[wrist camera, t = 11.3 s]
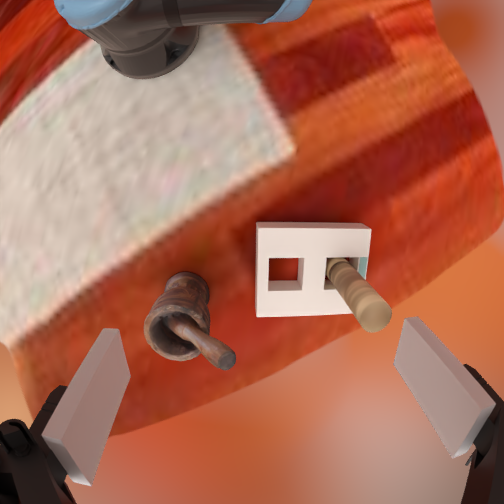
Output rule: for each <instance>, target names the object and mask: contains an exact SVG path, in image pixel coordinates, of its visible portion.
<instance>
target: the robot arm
mask: <svg viewBox="0 0 504 504" xmlns="http://www.w3.org/2000/svg"><path fill="white" fill-rule="evenodd" d="M54 3H55V7H56V9H57V11H58V12H59V14H60V15H61V16H62V17H64V18H65V19H66V20H67V22H68V23H69V24H70V25H71V26H72V27H73V28H75V29H78V30H79V31H81V32H82V33H84V34H85V35H87V36H88V37H90V38H91V39H93V40H94V41H96V42H97V43H99V44H100V45H101V50H102V53H103V56H104V58H105V60H106V61H107V63H108V64H109V65H110V66H111V67H112V68H113V69H115V70H116V71H118V72H119V73H121V74H122V75H124V76H127V77H130V78H135V79H149V78H155V77H158V76H161V75H164V74H166V73H168V72H170V71H172V70H174V69H175V68H177V67H178V66H179V65H180V64H182V63H183V62H184V61H185V60H186V59H187V58H188V56H189V55H190V54H191V52H192V51H193V49H194V47H195V45H196V42H197V39H198V35H199V25H208V24H226V23H257V24H266V23H269V22H290V21H294V20H296V19H298V18H300V17H301V16H302V15H303V14H304V13H305V12H306V11H307V9H308V8H309V6H310V4H311V3H312V0H54ZM393 365H394V366H395V368H396V369H397V371H398V372H399V374H400V375H401V377H402V378H403V380H404V381H405V383H406V385H407V386H408V387H409V389H410V391H411V392H412V394H413V395H414V397H415V399H416V400H417V402H418V403H419V405H420V406H421V408H422V410H423V411H424V413H425V414H426V416H427V418H428V419H429V421H430V422H431V424H432V426H433V427H434V429H435V430H436V432H437V434H438V435H439V437H440V439H441V440H442V442H443V444H444V446H445V447H446V449H447V450H448V452H449V454H450V456H451V457H452V458H455V457H457V456H459V455H462V454H464V453H466V452H467V451H468V450H469V448H470V447H471V445H472V443H474V445H475V446H476V449H475V451H474V452H473V454H472V455H471V456H470V458H469V459H468V461H467V463H466V464H465V465H466V466H467V465H468V464H469V463H470V461H471V466H470V470H469V475H468V479H467V483H466V487H465V491H464V495H463V498H462V501H461V504H504V401H503V400H502V399H501V398H500V397H499V396H498V395H497V393H496V392H495V391H494V390H493V389H492V388H491V386H490V385H489V384H487V382H486V381H485V380H484V378H482V376H481V375H480V374H479V373H478V372H477V371H476V370H475V369H474V368H472V367H471V366H469V365H467V364H464V365H462V364H461V362H460V361H459V360H458V359H457V358H456V357H455V356H454V355H453V354H452V353H451V351H450V350H449V349H448V348H447V347H446V346H445V345H444V344H443V343H442V342H441V341H440V339H438V337H437V336H436V335H435V334H434V333H433V332H432V331H431V330H430V329H429V328H428V327H427V326H426V325H425V324H424V323H423V321H422V320H421V319H419V317H411V318H405V319H404V324H403V328H402V333H401V336H400V341H399V345H398V348H397V352H396V356H395V360H394V363H393ZM130 377H131V376H130V372H129V369H128V365H127V361H126V357H125V353H124V349H123V345H122V341H121V337H120V332H119V329H108V328H104V329H103V330H102V332H101V333H100V335H99V336H98V338H97V340H96V341H95V343H94V344H93V346H92V348H91V349H90V351H89V352H88V354H87V356H86V357H85V359H84V361H83V362H82V364H81V366H80V367H79V369H78V371H77V372H76V374H75V376H74V377H73V379H72V381H71V382H70V384H69V386H68V387H67V386H61V385H59V386H58V387H57V388H56V389H55V390H53V391H52V392H51V393H50V395H49V396H48V398H47V400H46V401H45V402H46V403H44V405H43V406H42V408H41V410H40V411H39V413H38V415H37V417H36V418H35V420H34V422H33V423H32V425H31V427H30V429H28V428H27V426H26V424H25V423H24V422H23V421H21V420H18V419H10V420H7V421H5V422H2V423H1V424H0V504H76V502H75V500H74V498H73V496H72V494H71V492H70V490H69V488H68V486H67V484H66V483H65V481H64V480H65V478H66V475H67V474H68V475H69V477H70V478H71V479H72V481H73V482H76V483H80V484H84V485H89V486H92V484H93V480H94V477H95V474H96V471H97V468H98V465H99V462H100V459H101V456H102V453H103V450H104V447H105V444H106V441H107V439H108V436H109V433H110V430H111V427H112V425H113V422H114V419H115V416H116V414H117V411H118V408H119V405H120V403H121V400H122V397H123V395H124V392H125V390H126V387H127V384H128V382H129V379H130Z"/></svg>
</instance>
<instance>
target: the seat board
mask: <svg viewBox="0 0 504 504" xmlns="http://www.w3.org/2000/svg"><path fill="white" fill-rule="evenodd" d="M370 239H371V229H370V228H369V227H367V226H366V225H364V224H362V223H324V222H256V282H255V308H256V316H257V317H282V316H310V315H331V314H349V313H352V311H351V310H350V308H349V307H348V306H347V304H346V303H345V301H344V300H343V298H342V297H341V295H340V294H339V293H338V291H337V290H336V288H335V287H334V285H333V284H332V282H331V281H330V280H325V271H326V260H327V258H331V257H350V258H349V263H350V264H351V265H352V266H353V267H354V269H355V270H356V271H357V272H358V273H359V274H360V275H361V276H362V277H363V278H364V279H366V272H367V264H368V256H369V248H370ZM269 258H299V263H298V278H297V280H287V281H268V272H269Z"/></svg>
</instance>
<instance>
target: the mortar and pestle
mask: <svg viewBox="0 0 504 504" xmlns="http://www.w3.org/2000/svg"><path fill="white" fill-rule="evenodd" d="M164 292H165V293H163V294H162V295H161V296H160V297H159V298H158V299H157V300H156V302H155V303H154V305H153V306H152V308H151V311H150V312H149V314H148V316H147V317H146V319H145V324H144V335H145V338H146V340H147V342H148V344H150V346H151V347H152V349H153V350H154V351H156V352H157V353H158V354H160V355H161V356H163V357H165V358H168V359H170V360H177V361H185V360H190V359H192V358H195V357H197V356H198V355H199V354H200V353H202V354H203V355H204V357H205V358H206V359H207V360H208V361H209V362H210V363H212V364H213V365H214V366H216V367H217V368H220V369H222V370H228V369H230V368H232V367H233V366H234V364H235V362H236V355H235V352H234V351H233V350H232V349H231V348H229V347H228V346H227V345H226V344H224V343H223V342H221V341H219V340H217V339H216V338H213V337H211V336H209V332H210V314H209V310H208V307H207V304H208V302H209V289H208V286H207V283H206V282H205V281H204V280H203V279H202V278H201V277H200V276H198V275H196V274H194V273H190V272H181V273H178V274H176V275H174V276H172V277H171V278H170V279H169V280H168V281H167V284H166V287H165V290H164Z"/></svg>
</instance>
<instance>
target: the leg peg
mask: <svg viewBox="0 0 504 504" xmlns="http://www.w3.org/2000/svg"><path fill="white" fill-rule="evenodd" d="M325 274H326V275H327V277H328V278H329V280H330V281H331V282H332V284H333V285H334V287H335V288H336V290H337V291H338V293H339V294H340V295H341V297H342V298H343V300H344V301H345V303H346V304H347V306H348V307H349V308H350V310H351V311H352V313H353V314H354V316H355V317H356V319H357V320H358V322H359V323H360V325H361V326H362V328H363V329H364V330H366V331H367V332H378V331H380V330H382V329H383V328H385V326H387V324H388V323H389V322H390V319H391V316H392V310H391V307H390V306H389V305H388V304H387V303H386V302H385V300H384V299H383V298H382V297H381V296H380V295H379V294H378V293H377V292H376V291H375V290H374V289H373V288H372V286H371V285H370V284H369V283H368V282H367V281H366V280H365V279H364V278H363V277H362V276H361V275H360V274H359V273H358V272H357V271H356V270H355V269H354V267H353V266H352V265H351V264H350V263H349V262H348V261H347V260H346V259H345V258H344V257H331V258H327V260H326V271H325Z"/></svg>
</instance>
